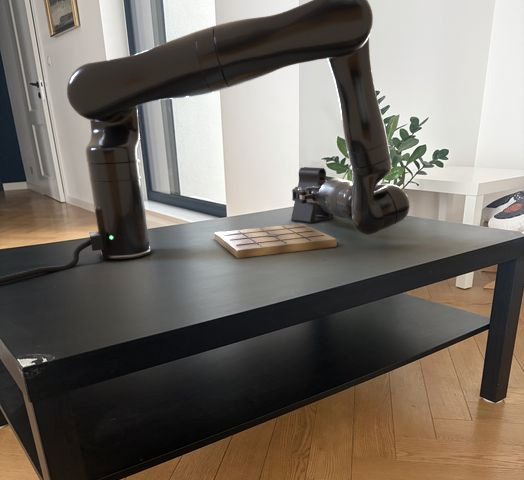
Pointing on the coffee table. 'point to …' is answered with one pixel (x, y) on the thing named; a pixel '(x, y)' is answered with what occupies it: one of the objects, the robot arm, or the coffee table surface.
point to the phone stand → (310, 210)
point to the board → (273, 240)
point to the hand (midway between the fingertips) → (313, 189)
